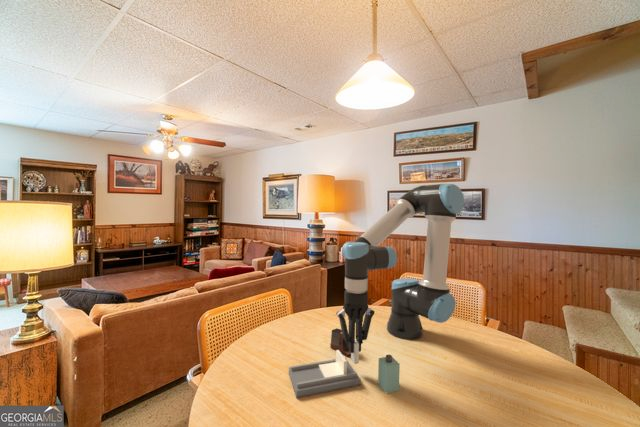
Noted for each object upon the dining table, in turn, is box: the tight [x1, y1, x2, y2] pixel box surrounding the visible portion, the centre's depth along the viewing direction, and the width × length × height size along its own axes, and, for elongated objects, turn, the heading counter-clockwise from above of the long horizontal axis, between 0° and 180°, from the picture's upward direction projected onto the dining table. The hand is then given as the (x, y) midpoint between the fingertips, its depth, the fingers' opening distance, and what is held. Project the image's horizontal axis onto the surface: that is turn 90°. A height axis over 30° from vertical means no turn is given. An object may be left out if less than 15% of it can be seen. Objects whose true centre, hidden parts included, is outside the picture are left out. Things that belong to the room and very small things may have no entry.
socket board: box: [288, 356, 361, 399], centre depth 86 cm, size 20×12×3 cm, turn 107°
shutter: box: [319, 350, 348, 378], centre depth 87 cm, size 7×7×5 cm
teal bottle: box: [377, 354, 401, 394], centre depth 83 cm, size 4×4×10 cm
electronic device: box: [329, 328, 351, 358], centre depth 103 cm, size 4×10×8 cm, turn 44°
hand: (354, 361), depth 89 cm, fingers closed
